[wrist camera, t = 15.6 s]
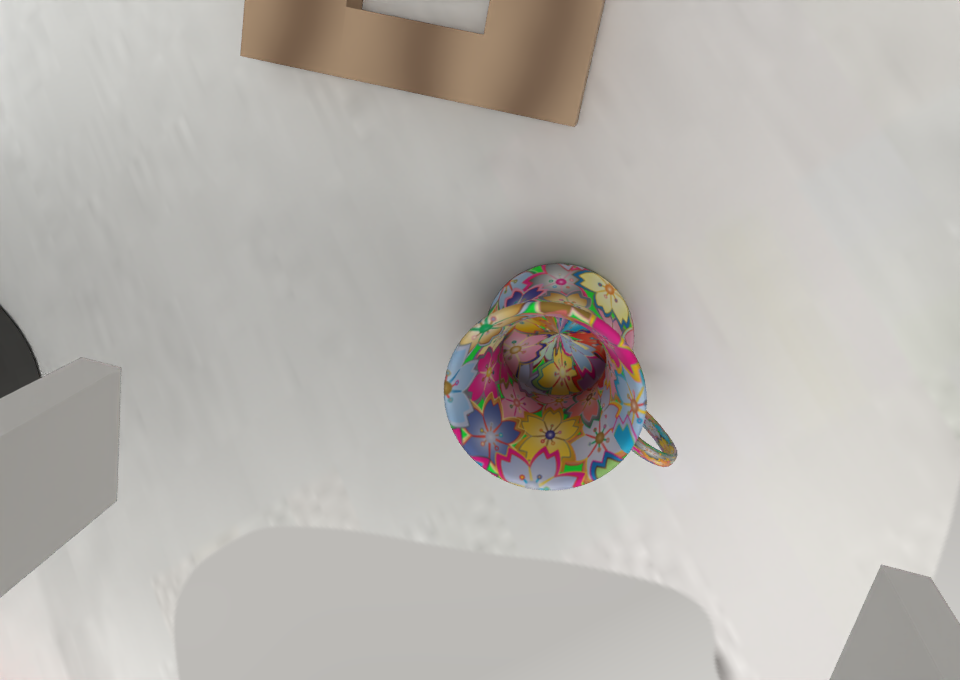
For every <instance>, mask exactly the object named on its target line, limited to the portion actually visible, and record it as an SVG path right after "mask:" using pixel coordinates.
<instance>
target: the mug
mask: <svg viewBox="0 0 960 680" xmlns="http://www.w3.org/2000/svg"><path fill="white" fill-rule="evenodd" d="M633 344H634V327H633V321H632V318H631V314H630V312H629V309H628V307H627V305H626V303H625V301H624V299H623V298H622V296H621V295H620V294H619V292H618V291H617V290H616V289H615V288H614V287H613V286H612V285H611V284H610V283H609V282H608V281H607V280H605V279H604V278H603V277H601V276H600V275H598V274H596V273H594V272H592V271H590V270H588V269H585V268H582V267H579V266H575V265H569V264H547V265H541V266H537V267H534V268H531V269H529V270H526V271H524V272H522V273H521V274H519V275H517V276H516V277H514V278H513V279H512V280H510V281H509V282H508V283H507V284H506V285H505V286H504V287H503V288H502V289H501V291H500V292H499V293H498V295H497V296H496V298H495V299H494V301H493V303H492V305H491V308H490V310H489V313H488V316H487V317H485V318H484V319H482V320H481V321H480V322H478V323H477V324H476V325H475V326H474V327H472V328H471V329H470V330H469V331H468V332H467V334H466V335H465V336H464V337H463V338H462V340H461V341H460V343H459V344H458V345H457V347H456V349H455V351H454V353H453V354H452V357H451V359H450V361H449V364H448V368H447V371H446V376H445V382H444V401H445V408H446V413H447V417H448V420H449V423H450V425H451V428H452V430H453V432H454V434H455V436H456V438H457V439H458V441H459V443H460V444H461V445H462V447H463V448H464V450H465V451H466V452H467V453H468V454H469V455H470V457H471V458H472V459H473V460H474V461H476V462H477V463H478V464H479V465H480V466H481V467H483V468H484V469H485V470H487V471H488V472H490V473H491V474H493V475H495V476H496V477H498V478H500V479H502V480H504V481H507V482H509V483H512V484H514V485H517V486H521V487H525V488H530V489H536V490H563V489H569V488H574V487H578V486H582V485H585V484H587V483H590V482H592V481H594V480H596V479H598V478H600V477H602V476H603V475H605V474H607V473H608V472H609V471H611V470H612V469H613V468H615V467H616V466H617V465H618V464H619V463H620V462H621V461H622V460H623V459H624V458H625V457H626V456H627V454H628V453H629V452H630V450H632V451H633V452H635V453H636V454H637V455H639V456H640V457H642V458H643V459H645V460H646V461H648V462H650V463H652V464H655V465H658V466H662V467H667V466H670V465H671V464H672V463H673V462H674V461H675V459H676V457H677V450H676V447H675V445H674V443H673V442H672V440H671V439H670V437H669V436H668V434H667V433H666V432H665V431H664V429H663V428H662V427H661V426H660V425H659V423H658V422H657V421H656V420H655V419H654V418H653V417H652V416H651V415H650V414H649V413H648V412H647V411H646V405H647V396H646V386H645V380H644V376H643V373H642V370H641V367H640V365H639V362H638V360H637V358H636V356H635V354H634V353H633V351H632V350H633ZM642 427H644V428H645V429H646V430H647V432H648V433H649V434H650V435H651V436H652V438H653V439H654V440H655V441H656V443H657V444H658V446H659V447H660V449H661V450H662V452H661V451H659V450H657V449H655V448H654V447H652V446H650V445H649V444H647V443H646V442H645V441H643V440H642V439H641V438H640V437H639V435H640V432H641V430H642Z"/></svg>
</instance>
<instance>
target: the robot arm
mask: <svg viewBox="0 0 960 680" xmlns="http://www.w3.org/2000/svg"><path fill="white" fill-rule="evenodd" d="M120 393H121V367H117V366H113V365H109V364H105V363H102V362H98V361H94V360H90V359H86V358H82V357H81V358H79V359H77V360H75V361H73V362H71V363H69V364H67V365H65V366H63V367H61V368H59V369H57V370H55V371H54V372H52V373H50V374H48V375H46V376H44V377H42V378H39V374H38V370H37V367H36V364H35V361H34V359H33V356H32V354H31V351H30V349H29V347H28V345H27V343H26V342H25V340H24V338H23V336H22V335H21V333H20V332H19V330H18V329H17V327H16V326H15V325H14V323H13V322H12V321H11V319H10V318H9V317H8V316H7V315H6V314H5V312H4V311H3V310H2V309H1V308H0V597H2V596H3V595H4V594H5V593H6V592H8V591H9V590H10V589H11V588H12V587H14V586H15V585H16V584H17V583H19V582H20V581H21V580H22V579H23V578H25V577H26V576H27V575H28V574H29V573H31V572H32V571H33V570H34V569H35V568H37V567H38V566H39V565H40V564H41V563H43V562H44V561H45V560H46V559H47V558H49V557H50V556H51V555H52V554H53V553H55V552H56V551H57V550H58V549H59V548H61V547H62V546H63V545H64V544H65V543H67V542H68V541H69V540H70V539H71V538H73V537H74V536H75V535H76V534H78V533H79V532H80V531H81V530H82V529H84V528H85V527H86V526H87V525H88V524H90V523H91V522H92V521H93V520H94V519H96V518H97V517H98V516H99V515H100V514H102V513H103V512H104V511H105V510H106V509H108V508H109V507H110V506H111V505H112V504H114V503H115V502H116V501H117V488H118V456H119V425H120ZM830 680H960V623H959V622H958V620H957V619H956V617H955V615H954V614H953V612H952V611H951V609H950V607H949V606H948V604H947V603H946V601H945V599H944V598H943V596H942V595H941V593H940V592H939V590H938V589H937V587H936V585H935V584H934V582H933V580H932V579H931V577H927V576H923V575H920V574H916V573H912V572H908V571H904V570H900V569H896V568H893V567H889V566H885V565H881V566H880V569H879V571H878V573H877V575H876V578H875V580H874V582H873V584H872V586H871V589H870V591H869V593H868V595H867V598H866V600H865V602H864V604H863V606H862V609H861V611H860V613H859V615H858V618H857V620H856V622H855V624H854V626H853V629H852V631H851V633H850V635H849V638H848V640H847V642H846V644H845V647H844V649H843V651H842V653H841V655H840V658H839V660H838V662H837V664H836V667H835V669H834V671H833V673H832V675H831V678H830Z"/></svg>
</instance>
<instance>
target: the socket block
mask: <svg viewBox="0 0 960 680" xmlns="http://www.w3.org/2000/svg"><path fill="white" fill-rule="evenodd" d="M362 3H363V0H245V4H244V17H243V29H242V42H241V55H240V56H243V57H248V58H253V59H258V60H262V61H267V62H272V63H276V64H281V65H286V66H290V67H295V68H300V69H305V70H309V71H314V72H319V73H323V74H328V75H333V76H338V77H342V78H347V79H352V80H356V81H361V82H366V83H370V84H375V85H380V86H385V87H389V88H394V89H399V90H403V91H408V92H413V93H418V94H422V95H427V96H432V97H436V98H441V99H446V100H451V101H455V102H460V103H465V104H469V105H474V106H479V107H483V108H488V109H493V110H498V111H502V112H507V113H512V114H516V115H521V116H526V117H531V118H535V119H540V120H545V121H549V122H554V123H559V124H563V125H568V126H573V127H575V126H576V125H577V121H578V117H579V113H580V108H581V104H582V100H583V95H584V91H585V86H586V82H587V78H588V73H589V69H590V65H591V60H592V56H593V51H594V47H595V43H596V38H597V34H598V30H599V25H600V21H601V16H602V12H603V8H604V3H605V0H490V2H489V8H488V13H487V19H486V24H485V30H484V35H483V34H478V33H473V32H468V31H463V30H458V29H453V28H448V27H443V26H438V25H434V24H429V23H424V22H419V21H414V20H409V19H404V18H399V17H394V16H389V15H384V14H379V13H374V12H369V11H365V10H362Z"/></svg>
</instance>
